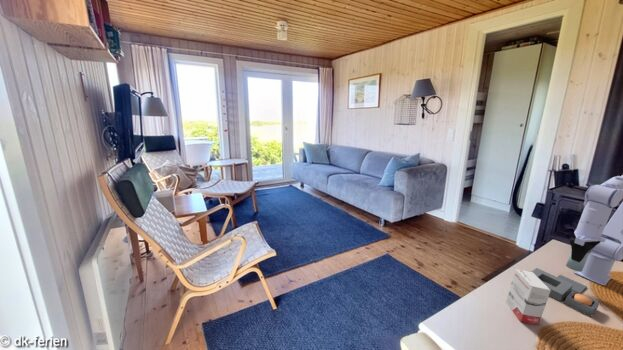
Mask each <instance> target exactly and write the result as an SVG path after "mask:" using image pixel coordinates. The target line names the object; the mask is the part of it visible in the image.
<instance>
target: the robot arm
mask: <svg viewBox="0 0 623 350" xmlns="http://www.w3.org/2000/svg"><path fill="white" fill-rule="evenodd" d="M622 200H623V174H622V175H621V176H620V175H617V176H613V177H611V178H609V179H607V180H606V181H604V182H603V183H601V184H594V185H593V184H592V185H590V186H589V187H588V189H587V190H586V191H585V193H584V202H583V206H584V208H583V211H582V213H581V216H580V219H579V221H578V223H577V225H576V228H575V230H574V232H573V234H574V236H575V237H570V238H569V243H570V247H571V251H572V252H570V254H571V259H572V260H574V261H577V262H580V261H582V259H583V258H584V256H585V255H586V254H587V252H588V251H589V250H591V249H592V251H591V253H590V254H589V256H588V258H587V261H586V263H585V266H584V268H583V270H582V272H578V271H575V270H573V273H574V274H576V275H578V276H580V277H582V278H585V279H587V280H589V281H592V282H594V283H596V284H599V285H601V286H603V285H604V286H606V285H607V283H608V282H609V281H610V280H611V279H612V276H610V273H611V271H612V269H613V266H614V264H615V262H621V261H622V260H623V201H622ZM620 202H621V204H620V205H619V203H620ZM618 205H619V206H618ZM617 206H618V208H617V209H616V210H615V212H614V213H613V215H612V216H611V213H612V210H613V209H614V208H616V207H617ZM610 216H611V217H610ZM609 218H610V219H609ZM608 220H609V221H608ZM604 286H603V287H604Z"/></svg>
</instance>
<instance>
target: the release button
mask: <svg viewBox="0 0 623 350" xmlns="http://www.w3.org/2000/svg"><path fill="white" fill-rule="evenodd" d="M574 299H575V300H577V301H579V302H581V303H583V304H585V305H587V306H589V307H591V304H592V302H593V301H592V300H591V299H592V298H591V299H590V297H589V298H588V296H587V295H584V294H583V293H580V294H575V296H574Z"/></svg>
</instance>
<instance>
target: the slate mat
mask: <svg viewBox="0 0 623 350" xmlns="http://www.w3.org/2000/svg"><path fill="white" fill-rule="evenodd" d="M557 277H558V278H560V279H562V280H565V281H567V282H569V283H571V284H573V287H572V289H571V292H572V291H573V290H574V291H576V292H578V293H580V294H582V292H583V291H585V289H586V288H587V285H584V284H582V283H580V282H578V281H576V280H574V279H572V278H569V277H566V276H565V275H563V274H558V276H557Z"/></svg>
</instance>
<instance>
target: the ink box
mask: <svg viewBox="0 0 623 350" xmlns="http://www.w3.org/2000/svg"><path fill="white" fill-rule="evenodd" d="M543 282H544V281H543ZM543 282H542V280H540V279H539V278H538V277H537V276H536V275H535V274H534V273H533V272H531V271H529V270H522V269H519V268H518V269H517V268H516V269H514V273H513V275H512V279H511V282H510V286H509V289H508V291H507V295H506V299H505V302H506V304H507V305H508V306H509V308H510V309H511V310H512V312H513V313H514V315H515V316H516V317H517V319H518V321H519V322H521V323H525V324H530V325H538V326H539V324H540V322H541V320H542V317H543V314H544V313H543V312H544V311H545V307H546V306H547V302H548V299H549V297H550V296H549V294H550V291H551V290H550V289H549V288H548V287H547V286H546V285H545V284H544V283H543Z"/></svg>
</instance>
